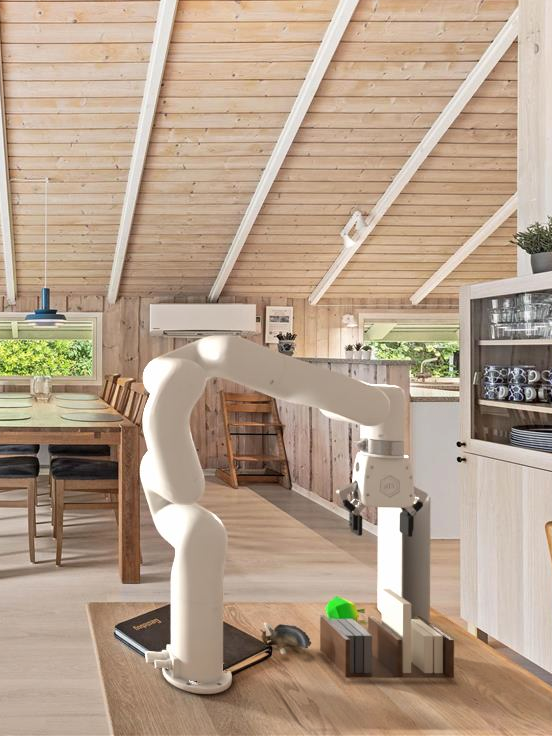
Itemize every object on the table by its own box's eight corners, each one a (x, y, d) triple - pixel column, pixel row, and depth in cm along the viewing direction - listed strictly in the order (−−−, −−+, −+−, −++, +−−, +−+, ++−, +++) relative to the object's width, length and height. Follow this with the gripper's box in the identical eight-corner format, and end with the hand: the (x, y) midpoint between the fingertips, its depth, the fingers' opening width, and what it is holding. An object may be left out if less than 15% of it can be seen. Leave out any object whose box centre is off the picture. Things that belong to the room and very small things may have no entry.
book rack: (345, 682, 115) (345, 639, 115) (320, 655, 125) (320, 615, 125) (454, 683, 115) (454, 640, 115) (419, 655, 125) (419, 615, 125)
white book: (402, 673, 116) (402, 603, 116) (381, 654, 123) (381, 588, 123) (411, 673, 116) (411, 603, 116) (389, 654, 123) (389, 588, 123)
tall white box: (430, 639, 131) (430, 497, 131) (401, 637, 132) (401, 496, 132) (403, 610, 145) (403, 482, 145) (377, 608, 146) (378, 481, 146)
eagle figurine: (265, 658, 121) (314, 656, 119) (257, 618, 125) (305, 615, 123) (265, 663, 127) (312, 661, 125) (258, 625, 131) (303, 622, 129)
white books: (424, 673, 116) (424, 636, 116) (401, 654, 123) (401, 618, 123) (443, 673, 116) (443, 636, 116) (419, 654, 123) (419, 619, 123)
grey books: (346, 673, 116) (346, 635, 116) (327, 653, 123) (327, 618, 123) (372, 673, 116) (372, 635, 116) (352, 653, 123) (352, 618, 123)
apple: (329, 593, 137) (364, 590, 138) (314, 603, 141) (349, 599, 143) (344, 627, 132) (380, 623, 134) (329, 636, 137) (364, 632, 138)
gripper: (347, 450, 119) (346, 539, 119) (438, 451, 119) (437, 541, 119) (329, 443, 127) (327, 527, 127) (414, 445, 126) (413, 529, 126)
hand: (381, 534), depth 123 cm, fingers open, 9 cm apart
